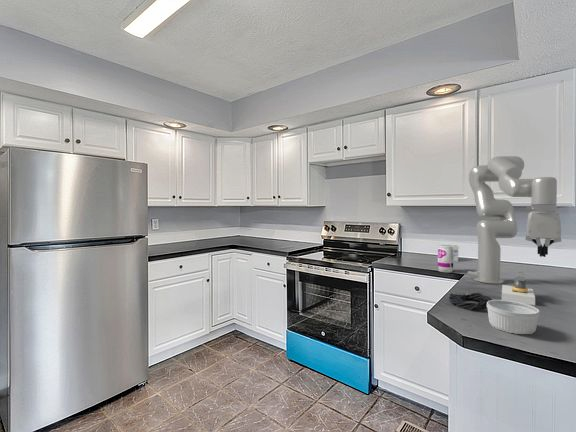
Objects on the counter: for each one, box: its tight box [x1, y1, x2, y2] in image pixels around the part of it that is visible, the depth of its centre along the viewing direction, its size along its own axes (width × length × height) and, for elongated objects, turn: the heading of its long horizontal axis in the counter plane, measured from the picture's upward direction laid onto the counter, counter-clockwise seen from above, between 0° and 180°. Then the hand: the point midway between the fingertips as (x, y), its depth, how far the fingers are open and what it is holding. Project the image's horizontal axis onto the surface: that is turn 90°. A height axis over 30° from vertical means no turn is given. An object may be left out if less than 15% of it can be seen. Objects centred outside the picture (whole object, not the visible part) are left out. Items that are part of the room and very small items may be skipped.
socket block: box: [501, 284, 536, 306], centre depth 126 cm, size 10×16×8 cm, turn 144°
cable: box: [448, 292, 493, 312], centre depth 117 cm, size 17×14×4 cm
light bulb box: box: [446, 244, 459, 262], centre depth 218 cm, size 11×7×11 cm, turn 67°
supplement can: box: [437, 244, 454, 274], centre depth 180 cm, size 8×8×15 cm
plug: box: [511, 277, 529, 293], centre depth 126 cm, size 5×5×8 cm
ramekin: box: [487, 299, 541, 335], centre depth 94 cm, size 13×13×7 cm
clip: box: [515, 271, 525, 281], centre depth 127 cm, size 3×12×2 cm, turn 144°
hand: (542, 256), depth 119 cm, fingers closed
